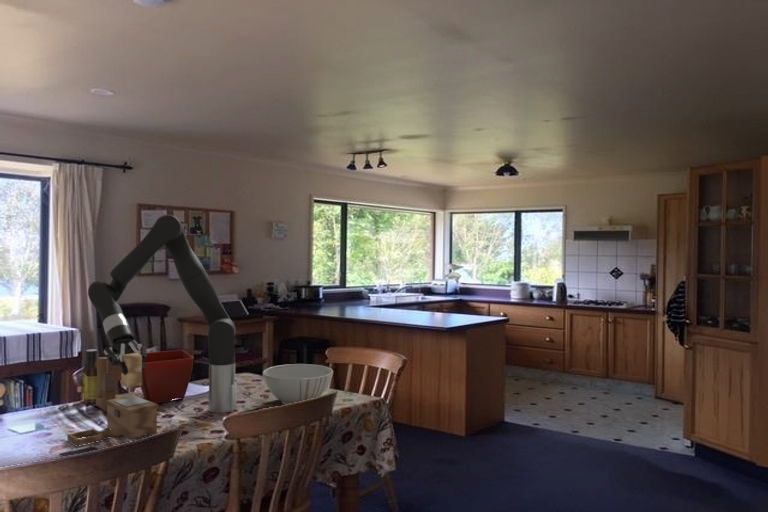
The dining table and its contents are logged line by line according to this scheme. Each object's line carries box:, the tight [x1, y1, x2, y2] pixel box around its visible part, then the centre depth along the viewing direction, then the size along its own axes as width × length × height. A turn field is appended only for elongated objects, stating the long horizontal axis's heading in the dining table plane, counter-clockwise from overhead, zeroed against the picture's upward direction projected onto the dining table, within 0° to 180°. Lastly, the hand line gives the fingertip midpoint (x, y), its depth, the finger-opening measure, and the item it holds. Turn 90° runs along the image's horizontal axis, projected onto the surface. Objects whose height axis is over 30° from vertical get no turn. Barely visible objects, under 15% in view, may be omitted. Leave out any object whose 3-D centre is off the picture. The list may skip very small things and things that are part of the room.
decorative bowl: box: [262, 363, 334, 405], centre depth 236 cm, size 27×27×12 cm
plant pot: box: [140, 349, 194, 404], centre depth 239 cm, size 19×19×17 cm
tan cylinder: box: [120, 353, 142, 389], centre depth 199 cm, size 5×5×10 cm
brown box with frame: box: [66, 394, 159, 447], centre depth 195 cm, size 23×17×10 cm
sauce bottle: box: [82, 348, 98, 404], centre depth 233 cm, size 6×6×20 cm
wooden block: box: [95, 356, 116, 413], centre depth 225 cm, size 4×11×18 cm, turn 42°
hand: (134, 372), depth 198 cm, fingers closed on tan cylinder, 4 cm apart
